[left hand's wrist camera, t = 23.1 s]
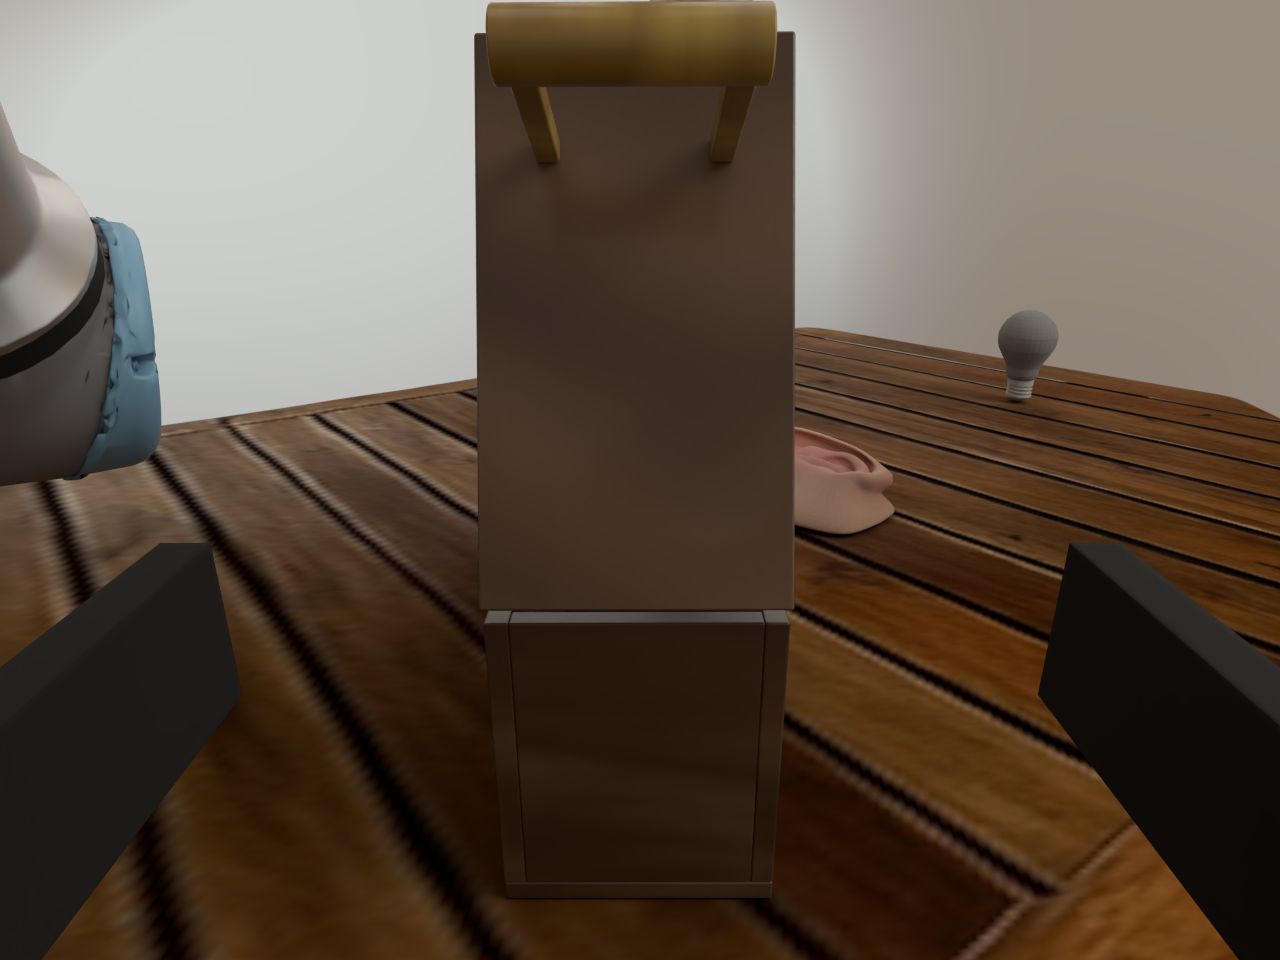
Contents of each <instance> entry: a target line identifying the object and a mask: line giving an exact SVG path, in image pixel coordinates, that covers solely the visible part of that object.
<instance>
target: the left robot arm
mask: <svg viewBox="0 0 1280 960" xmlns="http://www.w3.org/2000/svg"><path fill="white" fill-rule="evenodd" d="M155 356H156V353H155V345H154V328H153V320H152V312H151V304H150V297H149V290H148V284H147V278H146V272H145V266H144V260H143V255H142V250H141V247H140V242H139V239H138V237H137V235H136V234H135V232H134V231H133V230H132V229H131V228H129V227H128V226H126V225H124V224H122V223H116V222H108V221H106V220H105V219H103V218H99V217H96V218H94V217H89V215H88V213H87V211H86V209H85V208H84V206H83V204H82V202H81V200H80V199H79V197H78V196H77V195H76V194H75V193H74V191H73V190H72V189H71V188H70V187H69V186H68V185H67V183H65V182H64V181H63V180H62V179H60V178H59V177H58V176H57V175H56V174H54V173H53V172H52V171H50V170H49V169H47V168H46V167H44V166H43V165H41V164H40V163H38V162H37V161H35V160H33V159H31V158H29V157H27V156H25V155H23V154H22V153H20V152H19V150H18V147H17V145H16V142H15V139H14V137H13V134H12V132H11V129H10V126H9V124H8V121H7V119H6V116H5V113H4V111H3V108H2V106H1V103H0V486H7V485H14V484H21V483H29V482H37V481H45V480H53V479H61V478H62V479H64V480H79V479H82V478H84V477H86V476H87V475H89V474H91V473H96V472H101V471H107V470H112V469H117V468H122V467H128V466H132V465H136V464H138V463H140V462H142V461H144V460H146V459H147V458H148V457H149V456H151V455H152V453H153V452H154V451H155V449H156V448H157V446H158V444H159V441H160V436H161V403H160V389H159V379H158V371H157V365H156V363H155ZM241 695H242V692H241V687H240V682H239V678H238V673H237V668H236V663H235V658H234V654H233V649H232V644H231V639H230V635H229V630H228V625H227V620H226V615H225V611H224V606H223V601H222V596H221V592H220V587H219V582H218V577H217V572H216V568H215V563H214V558H213V553H212V549H211V544H210V543H160V544H158V545H157V546H156V547H155V548H153V549H152V550H151V551H149V552H148V553H147V554H146V555H144V556H143V557H142V558H140V559H139V560H138V561H137V562H135V563H134V564H133V565H132V566H130V567H129V568H128V569H126V570H125V571H124V572H123V573H121V574H120V575H119V576H117V577H116V578H115V579H114V580H112V581H111V582H110V583H108V584H107V585H106V586H105V587H103V588H102V589H101V590H99V591H98V592H97V593H96V594H94V595H93V596H92V597H90V598H89V599H88V600H87V601H85V602H84V603H83V604H81V605H80V606H79V607H78V608H76V609H75V610H74V611H72V612H71V613H70V614H69V615H67V616H66V617H65V618H63V619H62V620H61V621H60V622H58V623H57V624H56V625H54V626H53V627H52V628H51V629H49V630H48V631H47V632H45V633H44V634H43V635H42V636H40V637H39V638H38V639H37V640H35V641H34V642H33V643H31V644H30V645H29V646H28V647H26V648H25V649H24V650H22V651H21V652H20V653H19V654H17V655H16V656H15V657H13V658H12V659H11V660H10V661H8V662H7V663H6V664H4V665H3V666H2V667H1V668H0V960H41V959H42V958H43V957H44V955H45V954H46V953H47V951H48V950H49V949H50V947H51V946H52V945H53V943H54V942H55V941H56V939H57V938H58V937H59V936H60V934H61V933H62V932H63V930H64V929H65V928H66V926H67V925H68V924H69V922H70V921H71V920H72V918H73V917H74V916H75V914H76V913H77V912H78V910H79V909H80V908H81V906H82V905H83V904H84V903H85V901H86V900H87V899H88V897H89V896H90V895H91V893H92V892H93V891H94V889H95V888H96V887H97V885H98V884H99V883H100V881H101V880H102V879H103V877H104V876H105V875H106V873H107V872H108V871H109V870H110V868H111V867H112V866H113V864H114V863H115V862H116V860H117V859H118V858H119V856H120V855H121V854H122V852H123V851H124V850H125V848H126V847H127V846H128V844H129V843H130V842H131V841H132V839H133V838H134V837H135V835H136V834H137V833H138V831H139V830H140V829H141V827H142V826H143V825H144V823H145V822H146V821H147V819H148V818H149V817H150V815H151V814H152V813H153V811H154V810H155V809H156V808H157V806H158V805H159V804H160V802H161V801H162V800H163V798H164V797H165V796H166V794H167V793H168V792H169V790H170V789H171V788H172V786H173V785H174V784H175V782H176V781H177V780H178V778H179V777H180V776H181V775H182V773H183V772H184V771H185V769H186V768H187V767H188V765H189V764H190V763H191V761H192V760H193V759H194V757H195V756H196V755H197V753H198V752H199V751H200V749H201V748H202V747H203V745H204V744H205V743H206V742H207V740H208V739H209V738H210V736H211V735H212V734H213V732H214V731H215V730H216V728H217V727H218V726H219V724H220V723H221V722H222V720H223V719H224V718H225V716H226V715H227V714H228V712H229V711H230V710H231V709H232V707H233V706H234V705H235V703H236V702H237V701H238V699H239V698H240V697H241ZM1038 695H1039V697H1040V698H1041V699H1042V701H1043V702H1044V703H1045V705H1046V706H1047V707H1048V709H1049V710H1050V711H1051V712H1052V714H1053V715H1054V716H1055V718H1056V719H1057V720H1058V722H1059V723H1060V724H1061V726H1062V727H1063V728H1064V730H1065V731H1066V732H1067V734H1068V735H1069V736H1070V738H1071V739H1072V740H1073V742H1074V743H1075V744H1076V745H1077V747H1078V748H1079V749H1080V751H1081V752H1082V753H1083V755H1084V756H1085V757H1086V759H1087V760H1088V761H1089V763H1090V764H1091V765H1092V767H1093V768H1094V769H1095V771H1096V772H1097V773H1098V775H1099V776H1100V777H1101V778H1102V780H1103V781H1104V782H1105V784H1106V785H1107V786H1108V788H1109V789H1110V790H1111V792H1112V793H1113V794H1114V796H1115V797H1116V798H1117V800H1118V801H1119V802H1120V804H1121V805H1122V806H1123V808H1124V809H1125V810H1126V811H1127V813H1128V814H1129V815H1130V817H1131V818H1132V819H1133V821H1134V822H1135V823H1136V825H1137V826H1138V827H1139V829H1140V830H1141V831H1142V833H1143V834H1144V835H1145V837H1146V838H1147V839H1148V841H1149V842H1150V843H1151V844H1152V846H1153V847H1154V848H1155V850H1156V851H1157V852H1158V854H1159V855H1160V856H1161V858H1162V859H1163V860H1164V862H1165V863H1166V864H1167V866H1168V867H1169V868H1170V870H1171V871H1172V872H1173V873H1174V875H1175V876H1176V877H1177V879H1178V880H1179V881H1180V883H1181V884H1182V885H1183V887H1184V888H1185V889H1186V891H1187V892H1188V893H1189V895H1190V896H1191V897H1192V899H1193V900H1194V901H1195V903H1196V904H1197V905H1198V906H1199V908H1200V909H1201V910H1202V912H1203V913H1204V914H1205V916H1206V917H1207V918H1208V920H1209V921H1210V922H1211V924H1212V925H1213V926H1214V928H1215V929H1216V930H1217V932H1218V933H1219V934H1220V936H1221V937H1222V938H1223V939H1224V941H1225V942H1226V943H1227V945H1228V946H1229V947H1230V949H1231V950H1232V951H1233V953H1234V954H1235V955H1236V957H1237V958H1238V959H1239V960H1280V668H1279V667H1278V666H1277V665H1276V664H1274V663H1273V662H1272V661H1270V660H1269V659H1268V658H1267V657H1265V656H1264V655H1263V654H1261V653H1260V652H1259V651H1258V650H1256V649H1255V648H1254V647H1252V646H1251V645H1250V644H1249V643H1247V642H1246V641H1245V640H1243V639H1242V638H1241V637H1240V636H1238V635H1237V634H1236V633H1235V632H1233V631H1232V630H1231V629H1229V628H1228V627H1227V626H1226V625H1224V624H1223V623H1222V622H1220V621H1219V620H1218V619H1217V618H1215V617H1214V616H1213V615H1211V614H1210V613H1209V612H1208V611H1206V610H1205V609H1204V608H1202V607H1201V606H1200V605H1199V604H1197V603H1196V602H1195V601H1193V600H1192V599H1191V598H1190V597H1188V596H1187V595H1186V594H1184V593H1183V592H1182V591H1181V590H1179V589H1178V588H1177V587H1175V586H1174V585H1173V584H1172V583H1170V582H1169V581H1168V580H1166V579H1165V578H1164V577H1163V576H1161V575H1160V574H1159V573H1157V572H1156V571H1155V570H1154V569H1152V568H1151V567H1150V566H1148V565H1147V564H1146V563H1145V562H1143V561H1142V560H1141V559H1140V558H1138V557H1137V556H1136V555H1134V554H1133V553H1132V552H1131V551H1129V550H1128V549H1127V548H1125V547H1124V546H1123V545H1122V544H1120V543H1070V544H1069V549H1068V553H1067V558H1066V563H1065V568H1064V572H1063V577H1062V582H1061V587H1060V592H1059V596H1058V601H1057V606H1056V611H1055V615H1054V620H1053V625H1052V630H1051V635H1050V639H1049V644H1048V649H1047V654H1046V658H1045V663H1044V668H1043V673H1042V678H1041V682H1040V687H1039V692H1038Z"/></svg>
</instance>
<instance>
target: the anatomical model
mask: <svg viewBox="0 0 1280 960" xmlns="http://www.w3.org/2000/svg"><path fill="white" fill-rule="evenodd" d="M892 481H893V476H892V474H891V473H890V472H889V471H888V470H887V469H886V468H885V467H884V466H882V465H881V464H880V463H879V462H877V461H876V460H875V459H874V458H872V457H871V456H870V455H868V454H867V453H865V452H864V451H862V450H860V449H859V448H856V447H854V446H852V445H850V444H848V443H845V442H843V441H840V440H837V439H835V438H832V437H829V436H827V435H824V434H821V433H817V432H814V431H811V430H807V429H803V428H798V427H795V484H794V525H796V526H800V527H803V528H807V529H811V530H816V531H820V532H825V533H832V534H851V533H856V532H859V531H862V530H865V529H867V528H869V527H872V526H874V525H876V524H878V523H880V522H882V521H884V520H885V519H887V518H888V517H890V516H891V515H892V514H893V513H894V507H893V505H892V504H891V503H890V502H889V501H888V500H887V499H886V498H885V497H884V496H883V495H882V491H883V490H885V489H886V488H888V487H889V486H890V485H891V484H892Z"/></svg>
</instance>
